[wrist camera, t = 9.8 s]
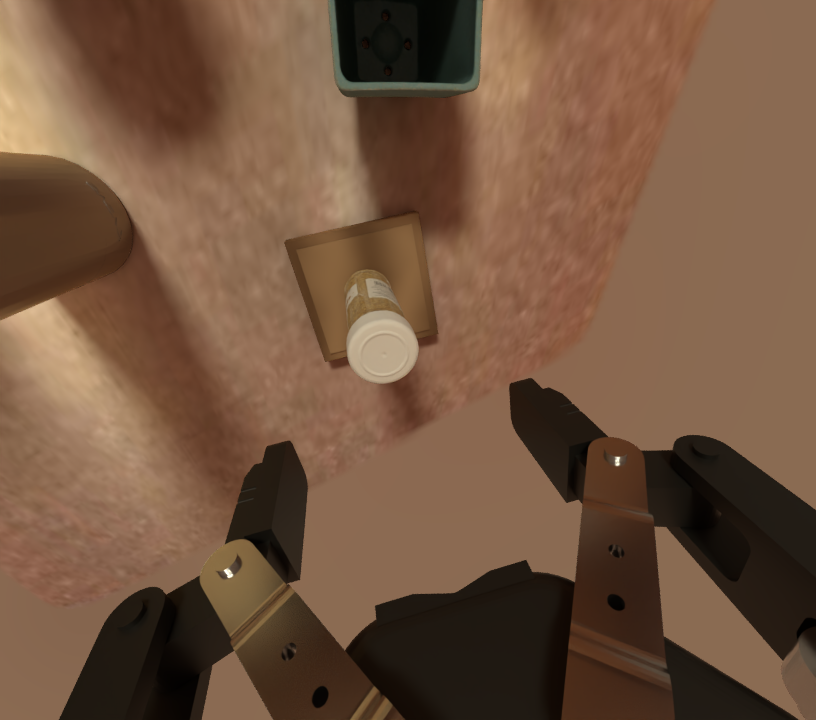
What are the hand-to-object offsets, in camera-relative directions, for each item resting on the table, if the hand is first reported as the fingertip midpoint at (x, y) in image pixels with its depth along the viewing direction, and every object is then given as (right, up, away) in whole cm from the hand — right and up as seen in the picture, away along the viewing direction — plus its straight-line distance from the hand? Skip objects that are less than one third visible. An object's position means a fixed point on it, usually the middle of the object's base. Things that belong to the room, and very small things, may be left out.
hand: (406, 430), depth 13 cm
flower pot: (-2, +27, +15) cm, 30 cm away
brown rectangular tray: (-4, +10, +23) cm, 25 cm away
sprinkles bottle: (-4, +9, +21) cm, 23 cm away
